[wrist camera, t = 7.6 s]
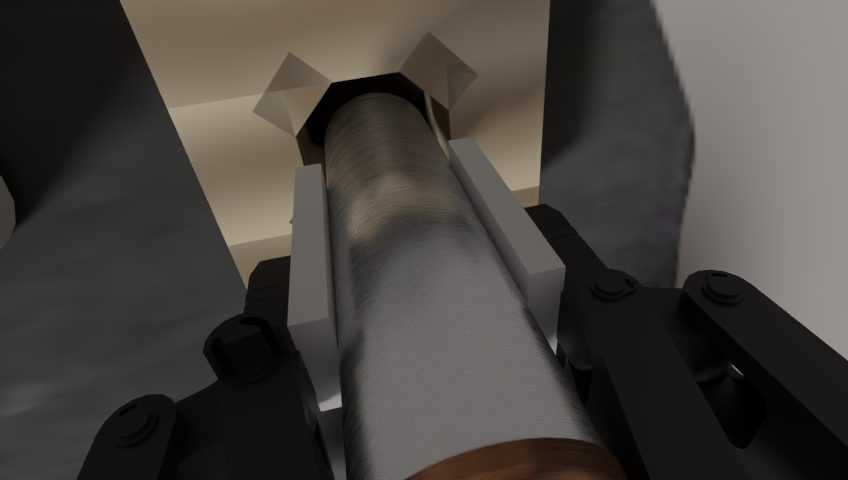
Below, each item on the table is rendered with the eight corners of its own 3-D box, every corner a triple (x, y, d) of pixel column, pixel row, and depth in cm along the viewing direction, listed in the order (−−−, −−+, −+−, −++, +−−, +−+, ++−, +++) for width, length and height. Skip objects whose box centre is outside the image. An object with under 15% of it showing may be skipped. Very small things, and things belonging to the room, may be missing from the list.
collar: (499, 201, 26) (535, 253, 22) (265, 246, 24) (256, 312, 20) (500, -81, 18) (554, -79, 14) (157, -37, 17) (110, -21, 13)
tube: (435, 182, 19) (696, 744, 6) (335, 201, 18) (395, 847, 6) (425, 82, 16) (828, 672, 4) (311, 101, 16) (320, 841, 3)
